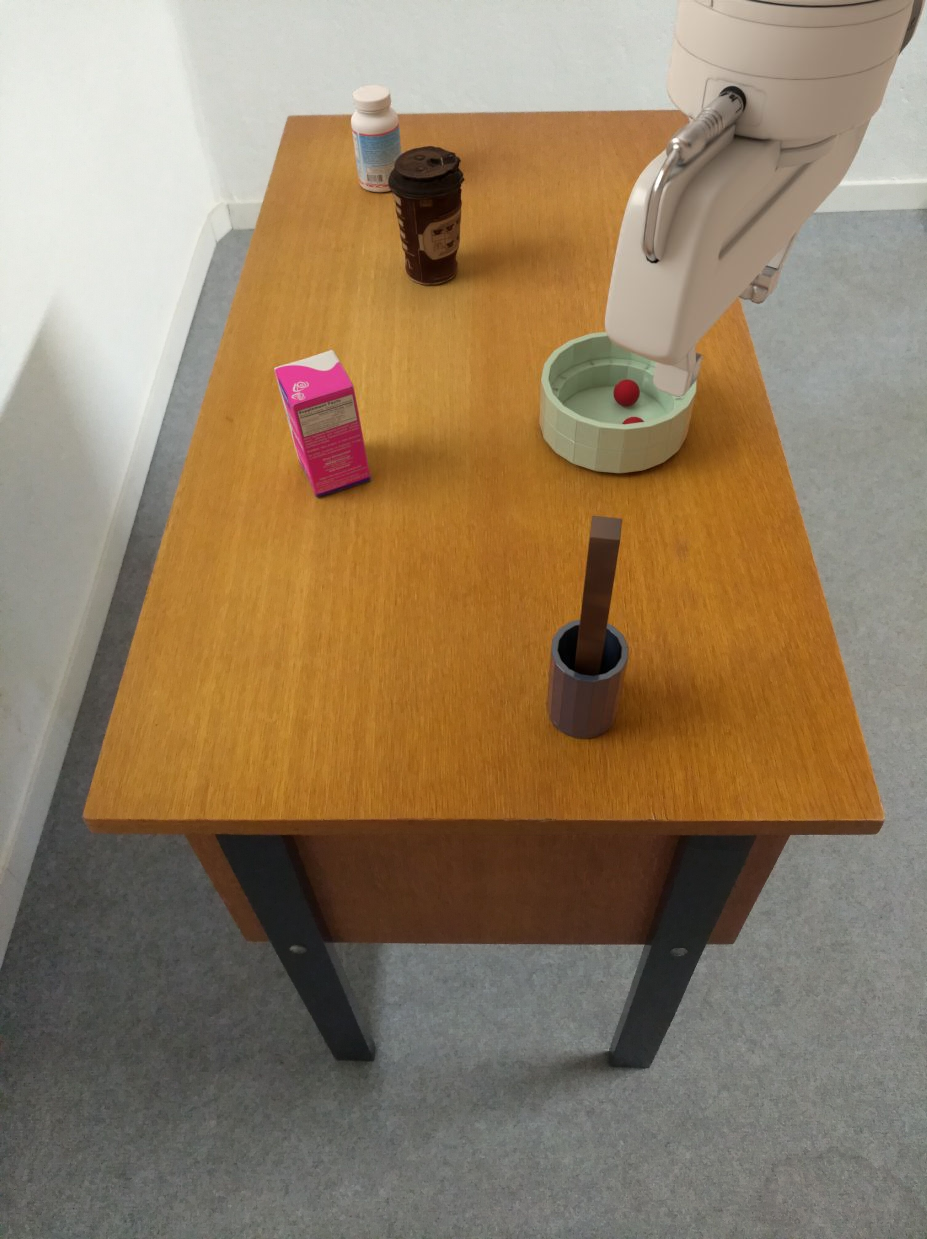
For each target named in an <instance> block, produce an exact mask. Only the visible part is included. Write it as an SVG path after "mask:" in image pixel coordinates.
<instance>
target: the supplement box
mask: <svg viewBox="0 0 927 1239" xmlns="http://www.w3.org/2000/svg"><path fill="white" fill-rule="evenodd" d="M273 370H274V374H275V377H276V381H277V386H278V389H279V393H280V397H281V400H282V404H283V408H284V412H285V416H286V419H287V422H288V423H287V424H288V427H289V430H290V434H291V437H292V442H293V444H294V449H295V453H296V456H297V460H298V462H299V464H300V466H301V468H302V469H303V472H304V473H305V475H306V478H307V480H308V482H309V484H310V486H311V489H312V491H313V494H314V496H315V498H318V499H319V498H321V497H324V496H327V495H330V494H333V493H336V492H340V491H343V490H346V489H348V488H352V487H355V486H358V485H362V484H365V483H368V482H371V481H372V476H371V472H370V466H369V462H368V460H369V459H368V456H367V449H366V446H365V440H364V434H363V428H362V424H361V418H360V412H359V407H358V402H357V396H356V392H355V391H356V390H355V387H354V384H353V382H352V380H351V379H350V376H349V374H348V373H347V371H346V370H345V368H344V366H343V364H342V363H341V360H340V359H339V358H338V356H337V354H336V352H335V351H334V349H330V350H327V351H324V352H321V353H318V354H315V355H312V356H308V357H306V358H303V359H299V360H295V361H292V362H289V363H285V364H281V365H279V366H275V367H274V368H273Z"/></svg>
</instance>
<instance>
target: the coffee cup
mask: <svg viewBox="0 0 927 1239" xmlns="http://www.w3.org/2000/svg"><path fill="white" fill-rule="evenodd" d="M461 162H462V160H461V158H460V157H459V156H457V154H456V153H455V152H453V151H449V150H447V149H444V148H442V147H440V146H433V145H425V146H420V147H414V148H411V149H409V150H406V151H405V152H402V154H401V155H400V156H399V157H398V158H397V159H396V161H395V165H394V169H393V170H392V172H391V173H390V176H389V179H388V186H389V188H390V189H391V191H390V192H392V196H393V200H394V204H395V213H396V217H397V222H398V223H397V224H398V228H399V237H400V241H401V249H402V250H403V252H404V261H405V263H404V265H405V266H404V269H405V272H406V275H407V276H408V278H409V279H410V280H411V281H413V282H415V283H417V284H420V285H439V284H442V283H445V282H447V281H449V280H451V279H453V278H454V277H455V276H456V274H457V273H458V271H459V262H458V259H457V254H458V251H459V248H460V242H461V223H462V206H463V200H462V192H463V190H462V184H463V183H464V181H466V179H465V177H464V173H463V171H462V170H461V169H460V163H461Z"/></svg>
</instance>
